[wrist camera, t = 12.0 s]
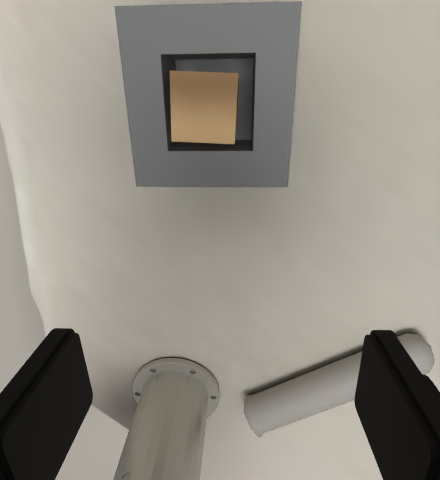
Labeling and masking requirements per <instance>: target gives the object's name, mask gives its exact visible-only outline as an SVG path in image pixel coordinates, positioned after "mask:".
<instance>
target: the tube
mask: <svg viewBox="0 0 440 480" xmlns="http://www.w3.org/2000/svg"><path fill="white" fill-rule="evenodd" d="M397 338H398V339H399V341H400V342H401V344H402V345H403V347H404V348H405V350H406V351H407V353H408V354H409V356H410V357H411V358H412V360H413V361H414V363H415V364H416V366H417V367H418V369H419V370H420V372H421V373H422V375H424V374H426V373H429V372H430V370H431V369H432V367H433V365H434V357H433V353H432V349H431V346H430V345H429V344H428V343H427V342H426V341H425V340H424V339H423V338H422V336H421V335H417V334H409V333H405V334H402V335H400V336H397ZM361 356H362V351H360V352H357V353H355V354H352V355H350V356H347V357H345V358H342V359H340V360H337V361H335V362H333V363H330V364H328V365H325V366H323V367H320V368H318V369H315V370H313V371H310V372H308V373H305V374H303V375H300V376H298V377H295V378H293V379H290V380H288V381H285V382H283V383H280V384H278V385H275V386H273V387H270V388H268V389H265V390H263V391H260V392H258V393H256V394H249V395H247V396H246V397H245V398H244V413H245V415H246V418H247V420H248V423H249V425H250V428H251V429H252V430H253V431H254V432H255V434H256V435H257V436H258V437H261V436H262V435H263V433H265V432H268V431H271V430H274V429H276V428H279V427H282V426H285V425H287V424H290V423H293V422H295V421H298V420H301V419H304V418H306V417H309V416H312V415H315V414H317V413H320V412H323V411H326V410H328V409H331V408H334V407H336V406H339V405H342V404H345V403H347V402H350V401H353V400H355V392H356V386H357V380H358V374H359V368H360V362H361Z"/></svg>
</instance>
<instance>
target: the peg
mask: <svg viewBox="0 0 440 480" xmlns="http://www.w3.org/2000/svg"><path fill="white" fill-rule="evenodd" d="M238 90H239V74H238V73H219V72H193V71H170V103H171V141H175V142H196V143H218V144H235V136H236V127H237V108H238Z"/></svg>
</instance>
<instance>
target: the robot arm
mask: <svg viewBox="0 0 440 480" xmlns="http://www.w3.org/2000/svg"><path fill="white" fill-rule="evenodd" d="M132 393H133V397H134V400H135V401H136V403H137V408H136V411H135V414H134V417H133V420H132V423H131V427H130V430H129V433H128V436H127V439H126V442H125V445H124V448H123V452H122V454H121V458H120V461H119V464H118V467H117V470H116V473H115V476H114V479H113V480H200V472H201V462H202V453H203V443H204V434H205V424H206V418H207V417H208V416H210V415H211V414H212V413H213V412H214V410H215V409H216V407H217V405H218V402H219V387H218V384H217V381H216V380H215V378H214V377H213V375H212V374H211V373H210V372H209V371H208V370H206V369H205V368H204V367H202V366H200V365H198V364H196V363H194V362H192V361H188V360H185V359H179V358H164V359H159V360H155V361H152V362H150V363H148V364H146V365H145V366H144V367H142V368H141V369H140V370H139V372H138V373H137V375H136V377H135V379H134V382H133V386H132ZM92 398H93V392H92V388H91V384H90V379H89V375H88V371H87V367H86V362H85V358H84V354H83V350H82V345H81V341H80V337H79V334H78V333H75V332H74V330H73V329H62V328H55V329H53V330H52V331H51V332H50V333H49V334H48V335H47V336H46V338H45V339H44V340H43V341H42V343H41V344H40V345H39V346H38V348H37V349H36V350H35V351H34V353H33V354H32V355H31V356H30V357H29V359H28V360H27V361H26V362H25V364H24V365H23V366H22V367H21V369H20V370H19V371H18V373H17V374H16V375H15V376H14V377H13V379H12V380H11V381H10V382H9V383H8V385H7V386H6V387H5V388H4V390H3V391H2V392H1V393H0V480H55V478H56V476H57V474H58V472H59V470H60V468H61V466H62V464H63V462H64V460H65V457H66V455H67V453H68V451H69V449H70V447H71V445H72V443H73V441H74V439H75V437H76V435H77V433H78V430H79V428H80V426H81V424H82V422H83V420H84V418H85V416H86V414H87V412H88V410H89V407H90V406H91V403H92ZM355 407H356V410H357V413H358V415H359V418H360V421H361V423H362V426H363V428H364V431H365V433H366V436H367V439H368V441H369V444H370V446H371V449H372V452H373V454H374V457H375V459H376V462H377V464H378V467H379V470H380V472H381V475H382V477H383V480H440V392H439V391H438V389H437V388H436V386H435V385H434V383H433V382H432V381H431V380H430V378H429V377H428V376H426V375H422V373H421V372H420V370H419V369H418V367H417V366H416V364H415V363H414V361H413V360H412V358H411V357H410V356H409V354H408V353H407V351H406V350H405V348H404V347H403V345H402V344H401V342H400V341H399V339H398V338H397V336H396V335H395V333H394V332H393V331H391V330H373V331H371V333H370V335H366V336H365V339H364V344H363V350H362V356H361V362H360V368H359V374H358V380H357V386H356V392H355Z"/></svg>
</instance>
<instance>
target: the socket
mask: <svg viewBox="0 0 440 480" xmlns="http://www.w3.org/2000/svg"><path fill="white" fill-rule="evenodd" d="M301 5H302V1H297V2H260V3H222V4H184V5H147V6H115V14H116V22H117V30H118V39H119V47H120V55H121V63H122V72H123V80H124V88H125V96H126V105H127V113H128V121H129V130H130V138H131V146H132V154H133V163H134V171H135V179H136V186H146V187H288V175H289V162H290V149H291V136H292V123H293V110H294V97H295V84H296V71H297V57H298V44H299V31H300V18H301ZM170 71H193V72H219V73H238V74H239V90H238V108H237V127H236V136H235V144H218V143H196V142H175V141H171V103H170Z"/></svg>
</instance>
